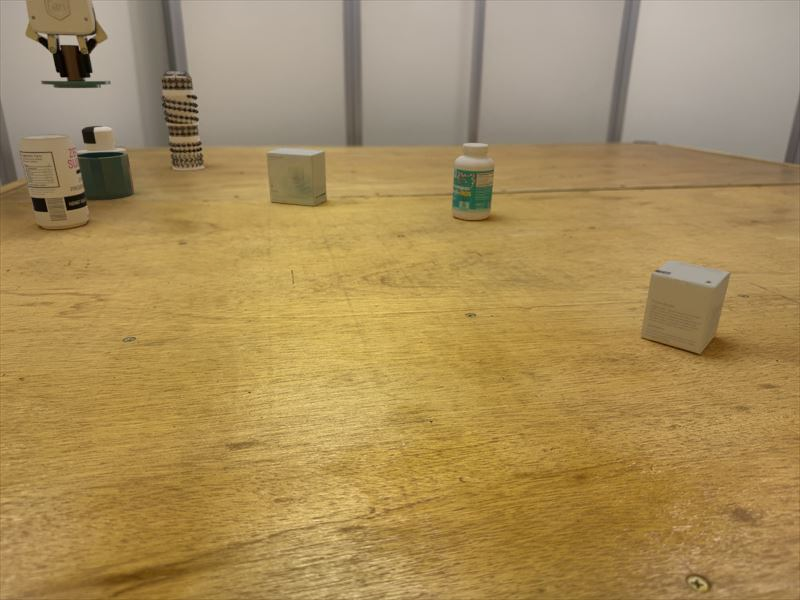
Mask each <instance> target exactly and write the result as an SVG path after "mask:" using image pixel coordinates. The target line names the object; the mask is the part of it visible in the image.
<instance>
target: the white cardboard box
mask: <svg viewBox="0 0 800 600" xmlns="http://www.w3.org/2000/svg"><path fill="white" fill-rule="evenodd" d="M730 279H731V272H730V271H727V270H721V269H717V268H711V267H706V266H701V265H698V264H697V265H696V264H693V263H687V262H683V261H678V260H673V259H670V260H668V261H667V262H665V263H664V264H662V265H661V266H660V267H658V268H657V269H656V270H654V271H652V272H651V275H650V280H649V286H648V292H647V297H646V304H645V309H644V315H643V320H642V325H641V326H642V327H641V331H640V338H641V339H645V340H649V341H653V342H656V343H661V344H664V345H666V346H667V345H668V346H671V347H673V348H677V349H682V350H685V351H688V352H692V353H695V354H698V355H701V354H702V352H704V350H705V349H706V348H707V346H708V345H709V344H710V343H711V341H712V340H713V339H714V338H715V336H716V335H717V332H718V327H719V324H720V319H721V316H722V311H723V306H724V302H725V300H726V295H727V290H728V287H729V283H730Z"/></svg>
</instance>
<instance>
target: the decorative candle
mask: <svg viewBox="0 0 800 600" xmlns="http://www.w3.org/2000/svg"><path fill="white" fill-rule="evenodd" d="M160 79H161V86H162V89H161V91H162V96H160V101H162V104H161V106H162V107H163V108H164V109H165V110H164V111H163V115H164V116H165V117H164V121H165V125H166V126H167V129H168V133H169V135H168V139H169V142H168V145H169V146H170V147H171V148H169V152H171V154H170V156H169V157H170V159H171V162H170V164H171V165H172V168H171V169H172V170H173V171H181V172H182V171H183V172H185V171H186V172H189V171H197V170H198V171H199V170H203V169H205V165H204V163H205V160H204V159H203V158H204V154H203V153H202V151H203V148H202V147H201V146H202V141H201V136H200V133H199V125H200V122H199V120H200V119H199V118H200V117H197V115H198V113H199V110H198V109H197V108H198V106H199V105H198V103H196V102H195V101H196V100H198V96H197V95H196V94H195V90H194V88H193V86H194V85H193V77H192V76H191V75H190V73H189V72H187V71H183V70H175V71H174V70H166V71H164V72H163V74H162V76H161V77H160Z"/></svg>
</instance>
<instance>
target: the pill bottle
mask: <svg viewBox="0 0 800 600" xmlns="http://www.w3.org/2000/svg"><path fill="white" fill-rule="evenodd" d="M462 153H463V154H462V155H460V156H458V157H457V158H456V159H455V160H454V163H453V164H454V165H453V180H452V181H453V183H452V200H451V201H452V203H451V214H452V216H453V217H455V218H456V219H459V220H465V221H482V220H486V219H488V218H489V217H490V216H491V212H492V200H493V188H494V176H495V175H494V174H495V161H494V160H493V159H492V158H491V157H489V156H488V155H487V154H488V153H489V144H487V143H480V142H469V143H468V142H467V143H465V142H464V143H463V144H462Z"/></svg>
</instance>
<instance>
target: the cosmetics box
mask: <svg viewBox="0 0 800 600" xmlns="http://www.w3.org/2000/svg"><path fill="white" fill-rule="evenodd" d="M265 153H266V161H267V162H266V163H267V175H268V187H269V198H270V199H269V200H270V202H271V203H277V204H278V203H279V204H288V205H298V206H309V207H315V206H318V205H320V204H322V203H325V202H326V201H327V200H328V196H327V195H328V193H327V173H326V172H327V171H326V150H320V149H319V150H317V149H304V148H302V149H301V148H289V147H279V148H276V149H273V150H270V151H266V152H265Z"/></svg>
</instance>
